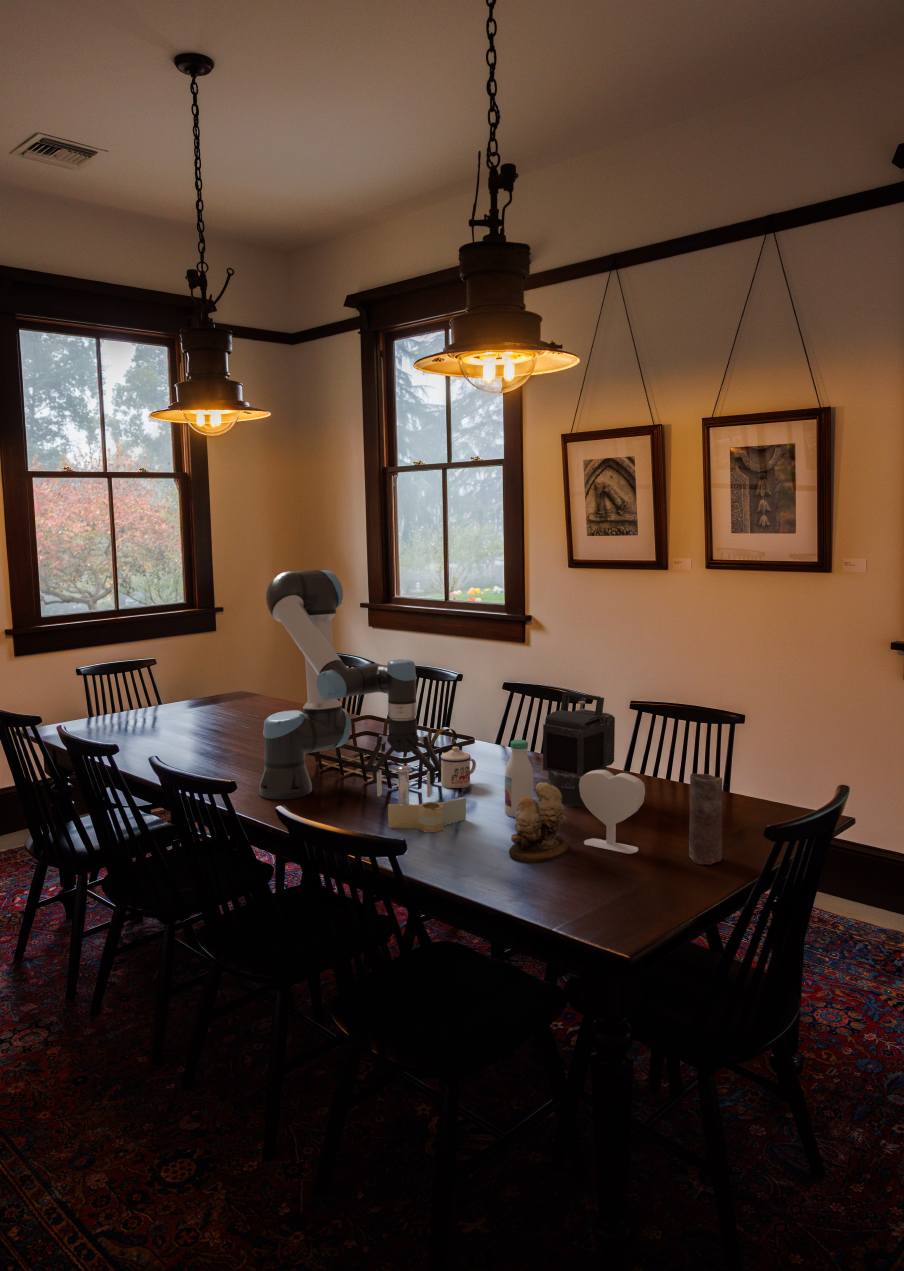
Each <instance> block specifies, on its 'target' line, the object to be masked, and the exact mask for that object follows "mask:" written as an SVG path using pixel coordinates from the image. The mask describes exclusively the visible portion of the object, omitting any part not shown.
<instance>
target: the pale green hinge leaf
mask: <svg viewBox="0 0 904 1271" xmlns="http://www.w3.org/2000/svg"><path fill="white" fill-rule="evenodd" d="M440 803H441V804H443V805H444V813H443V815H442V816H438V817H434V818H433V817H423V816H420V815H418V822H419V823H421V824H424V825H437V824H441V823H443V820H444V825H445V826H448V825H447V824H449V825H452V824H451V823H453V824H456V823H458V822H457V821H460V822H462V821H461V820H464V821H466V820H467V805H466V804H467V799H466V797H464V796H462V797H457V798H453V799H450V800H449V799H448V800H446V801H443V802H442V801H441V802H440ZM465 819H466V820H465ZM455 822H456V823H455Z"/></svg>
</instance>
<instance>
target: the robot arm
mask: <svg viewBox="0 0 904 1271" xmlns="http://www.w3.org/2000/svg"><path fill="white" fill-rule="evenodd" d="M343 599H344V591H343V586H342V583H341V580H340V579H339V578H338V576H337V575H336V574H335V573H334V572H333V571H330V570H324V569H323V570H322V569H315V570H314V569H313V570H311V569H310V570H295V571H293V570H289V571H283V572H281V573H279V574H277V575H276V576H274V578H272V579H271V581H270V582H269V584H268V586H267V588H266V592H265V600H266V601H265V602H266V606H267V609H268V611H269V612H270V614H271V616H272V618H273V619H274V620H275V621H277V622H279V623H281V624H282V625H283V627H284V628H285V630H286V631H287V633H288V634H289V635H290V637H291V638H292V640H293V641H294V643H295V644H296V646H297V647H298V650H300V652H301V653H302V654H303V656H304V663H305V664H304V667H305V678H306V679H305V681H306V693H307V694H306V695H307V697H306V698H307V701H306V703H305V704H304V705H303V708H302V710H303V711H301V710H298V709H297V710H294V709H293V710H284V711H279V712H275V713H272V714H271V715H269V716H267V717H266V718H265V719H264V722H263V732H262V736H263V749H264V750H263V751H264V754H263V755H264V770H263V773H262V775H261V776H262V777H261V779H260V783H259V795H260V797H262V798H264V799H268V800H269V799H270V800H281V801H282V800H292V799H299V798H303V797H305V796H307V795H310V794H311V793H312V791H313V787H312V786H313V785H312V780H311V778H310V775H309V772H308V770H307V766H306V754H311V753H315V752H316V753H317V752H321V751H326V750H334V749H335V748H338V747H342V746H343V745H345V744H347V741H348V740H349V738H350V736H351V732H352V720H351V717H350V716H349V715H350V714H349V712H348V711H347V710H346V709H344V708H343V703H342V702H341V701H339V700H340V699H342V698H349V697H354V696H363V695H368V694H369V695H370V694H375V693H383V694H387V703H388V704H387V706H388V707H387V708H388V709H387V710H388V717H389V719H388V735H383V734H379V735H378V736H377V739H376V745H375V747H374V748H373V751H372V753H371V755H370V758H369V759H368V761H367V763H366V766H365V769H366V770H368V771H371V772H372V782H373V784H376V793H377V794H376V796H377V797H381V795H382V794H383V787H382V786H383V780H382V778H383V777H382V776H383V775H382V769H380V768H381V767H382V765H383V764H384V763H385V762H386V761H387V759H388V758H389V757H390V756H391V755H392V754H393V752H395V753H397V754H398V753H399V754H401V753H405V754H409V753H412V754H413V755H414V756H415V757H416V758H417V759H418V760H419V761H420V762H421V764H422V765H423V766H424V767H425V769H427V772H426V790H427V791H426V797H427V798H431V796H432V785H434V784H435V782H436V772H439V771H441V767H442V765H441V761H440V760H439V758H438V756H437V754H436V752H435V750H434V748H433V746H432V744H431V743H430V735H429V734H425V735H421V736H420V735H418V726H417V725H418V719H417V718H416V717H417V714H418V713H417V712H418V711H417V674H416V664H415V662H414V661H413V660H411V659H392V660H389V661H388V662H387V664H380V663H376V662H374V663H373V662H372V663H365V664H363V665H362V666H356V667H349V668H348V667H347V666H346V665H345V662H343V660H342V659H341V658H340V656H339V655H338V653H337V652H336V651H335V649H334V640H333V625H332V624H333V623H332V620H333V619H334V618H335V616H336V615H337V608H339V607H340V606H341V604H343V603H342V601H343ZM386 741H387V743H388V744H389V745H390V747H389V748H388V750H386V752H385V754H383V756H382V757H380V759H379V761H378V762H377V763H376V764H374V763H375V760H376V759H377V756H378V754H379V752H380V750H381V748H382V746H383V745H385V743H386ZM418 742H420V744H422V745H423V746H424V748H425V751H426V752H427V754H428V756H429V758H430V760H429V759H428V758H427V756H426V755H425V754H424V753H423V752H422V751H421V749H420V748H419V746H418V745H417V744H418ZM431 761H432V762H431Z"/></svg>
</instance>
